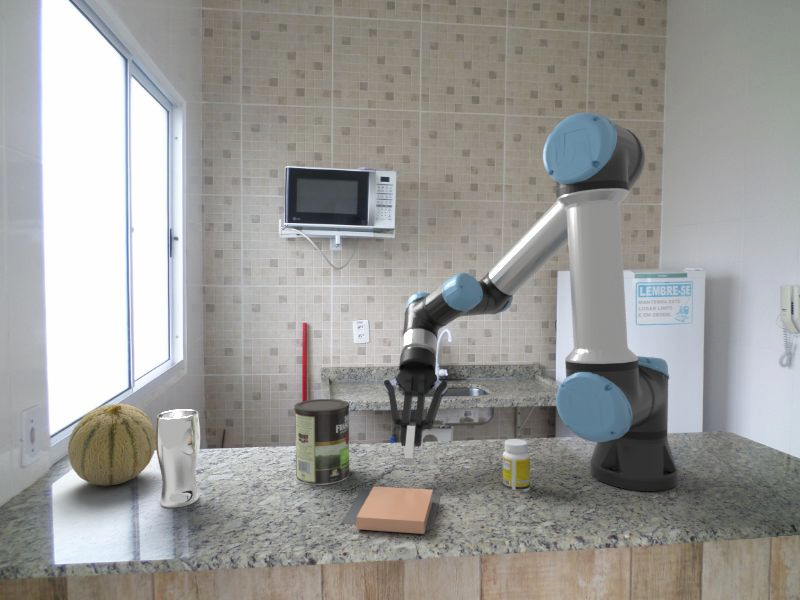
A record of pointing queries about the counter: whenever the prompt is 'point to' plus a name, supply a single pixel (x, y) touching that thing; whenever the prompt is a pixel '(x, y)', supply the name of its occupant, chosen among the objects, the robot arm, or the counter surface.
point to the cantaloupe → (111, 444)
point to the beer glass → (178, 456)
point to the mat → (364, 493)
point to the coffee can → (322, 441)
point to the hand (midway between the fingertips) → (409, 461)
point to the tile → (396, 510)
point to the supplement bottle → (516, 465)
